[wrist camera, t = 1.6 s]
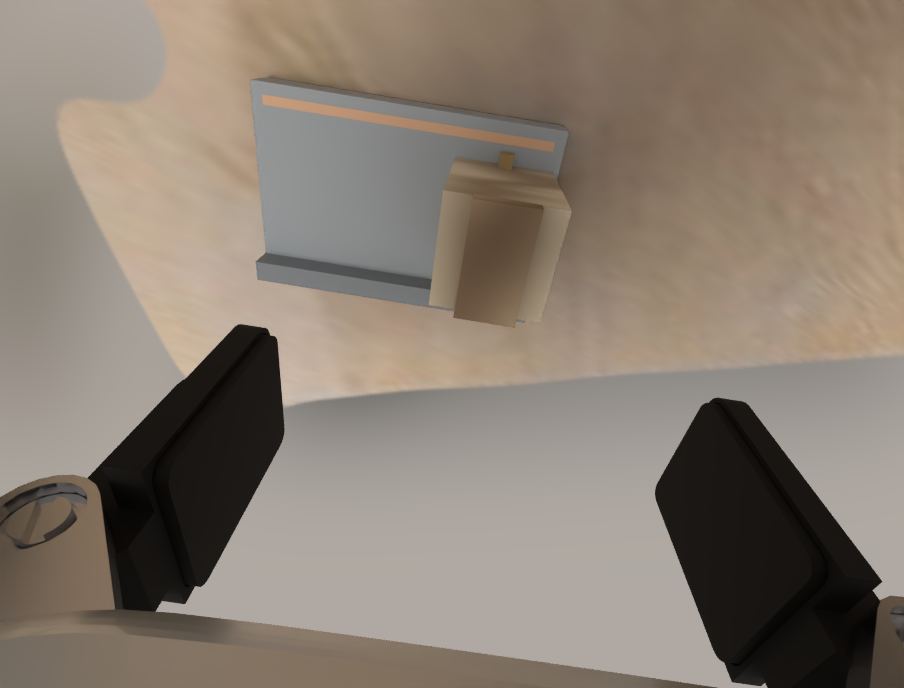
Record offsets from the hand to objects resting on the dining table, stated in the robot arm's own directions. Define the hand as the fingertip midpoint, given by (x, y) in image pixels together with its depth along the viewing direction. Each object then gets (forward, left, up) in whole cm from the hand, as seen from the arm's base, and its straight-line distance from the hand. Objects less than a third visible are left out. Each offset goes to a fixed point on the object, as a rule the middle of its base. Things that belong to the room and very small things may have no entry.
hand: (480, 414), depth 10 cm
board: (+4, 0, -16) cm, 17 cm away
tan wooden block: (0, 0, -14) cm, 14 cm away
